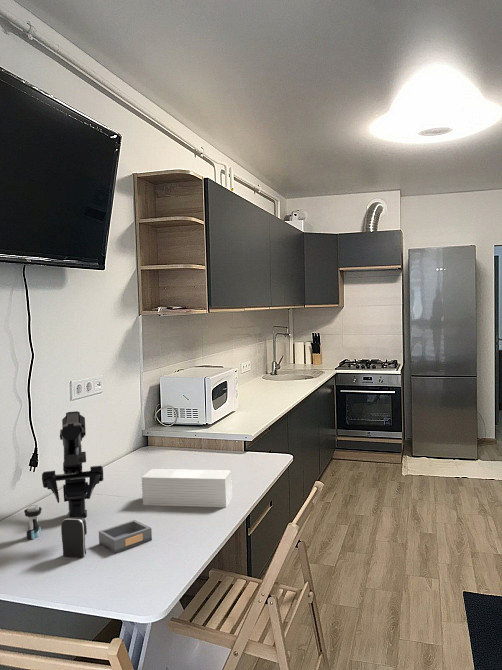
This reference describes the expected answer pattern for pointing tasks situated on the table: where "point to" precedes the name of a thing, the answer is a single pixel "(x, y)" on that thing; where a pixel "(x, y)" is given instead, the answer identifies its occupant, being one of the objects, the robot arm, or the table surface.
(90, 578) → the table surface
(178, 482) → the stack of papers
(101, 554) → the table surface
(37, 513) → the push button
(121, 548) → the tray
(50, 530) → the table surface
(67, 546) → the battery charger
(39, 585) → the table surface
